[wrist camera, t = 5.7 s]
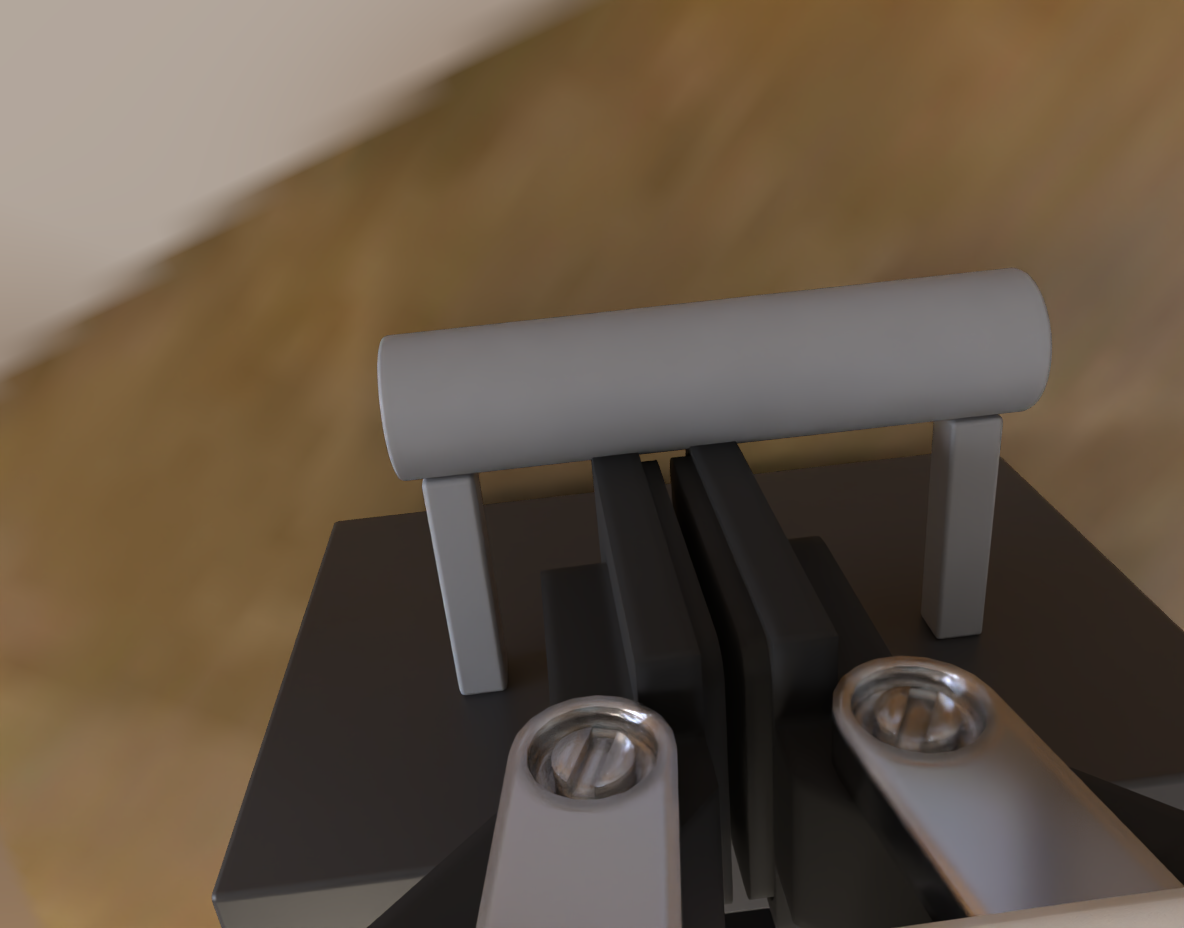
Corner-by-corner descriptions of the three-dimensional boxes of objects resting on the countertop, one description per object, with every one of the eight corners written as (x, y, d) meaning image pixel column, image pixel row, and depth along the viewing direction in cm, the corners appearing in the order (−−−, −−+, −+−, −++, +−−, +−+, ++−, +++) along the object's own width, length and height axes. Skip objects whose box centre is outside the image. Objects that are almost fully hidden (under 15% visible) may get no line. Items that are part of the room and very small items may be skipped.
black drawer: (270, 252, 15) (55, 489, 8) (1017, 173, 15) (1455, 332, 8) (452, 1031, 23) (427, 1496, 16) (941, 969, 23) (1129, 1397, 16)
